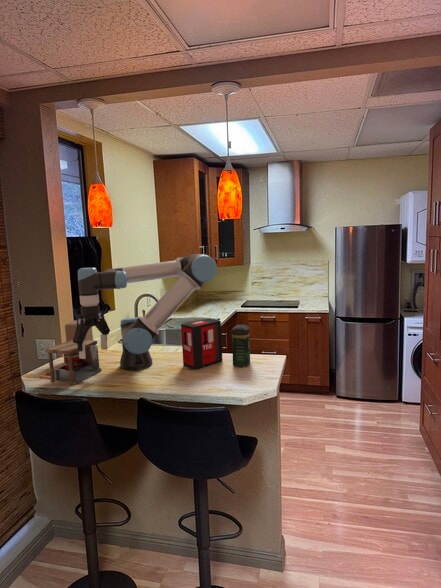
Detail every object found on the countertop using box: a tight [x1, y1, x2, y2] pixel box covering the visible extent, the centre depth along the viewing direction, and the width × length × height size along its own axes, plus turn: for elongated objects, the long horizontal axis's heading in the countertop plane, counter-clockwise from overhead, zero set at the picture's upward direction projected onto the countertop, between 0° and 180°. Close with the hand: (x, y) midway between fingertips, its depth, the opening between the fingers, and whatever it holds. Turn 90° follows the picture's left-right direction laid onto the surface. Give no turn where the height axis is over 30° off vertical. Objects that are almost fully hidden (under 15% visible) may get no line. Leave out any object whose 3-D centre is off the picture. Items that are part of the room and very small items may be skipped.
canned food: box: [63, 351, 84, 371], centre depth 176 cm, size 8×8×11 cm
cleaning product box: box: [180, 317, 223, 371], centre depth 186 cm, size 16×9×20 cm, turn 131°
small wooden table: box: [45, 339, 98, 386], centre depth 176 cm, size 13×17×15 cm
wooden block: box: [64, 319, 94, 342], centre depth 199 cm, size 10×10×20 cm
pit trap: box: [38, 370, 51, 380], centre depth 182 cm, size 10×11×1 cm
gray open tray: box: [54, 344, 102, 384], centre depth 174 cm, size 20×12×15 cm, turn 67°
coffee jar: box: [231, 324, 251, 369], centre depth 183 cm, size 10×8×19 cm
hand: (93, 353), depth 170 cm, fingers open, 13 cm apart
